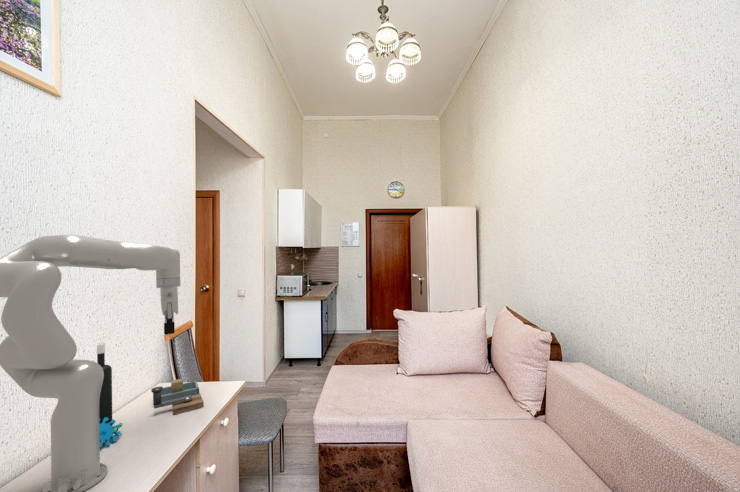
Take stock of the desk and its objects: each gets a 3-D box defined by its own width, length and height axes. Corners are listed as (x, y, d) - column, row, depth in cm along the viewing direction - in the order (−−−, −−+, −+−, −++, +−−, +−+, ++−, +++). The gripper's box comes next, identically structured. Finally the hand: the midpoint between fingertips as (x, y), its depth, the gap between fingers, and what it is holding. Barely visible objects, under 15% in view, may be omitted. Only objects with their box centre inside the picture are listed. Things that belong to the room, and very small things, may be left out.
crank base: (203, 407, 127) (203, 401, 127) (173, 415, 121) (173, 409, 121) (200, 398, 135) (200, 393, 135) (172, 405, 129) (172, 399, 130)
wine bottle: (106, 434, 109) (105, 344, 110) (86, 437, 108) (85, 346, 109) (115, 425, 115) (114, 340, 116) (96, 428, 113) (96, 341, 114)
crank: (192, 397, 131) (191, 379, 131) (192, 400, 127) (192, 382, 128) (151, 406, 124) (151, 387, 124) (151, 410, 121) (151, 391, 121)
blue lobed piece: (91, 451, 97) (80, 422, 100) (80, 463, 97) (70, 434, 101) (130, 436, 107) (118, 410, 110) (119, 448, 108) (108, 422, 111)
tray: (199, 396, 137) (198, 388, 137) (154, 407, 129) (154, 398, 129) (196, 388, 146) (196, 380, 146) (154, 397, 137) (154, 389, 137)
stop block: (182, 395, 137) (182, 381, 137) (171, 398, 134) (171, 383, 135) (182, 392, 140) (182, 378, 140) (171, 395, 138) (171, 380, 138)
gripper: (181, 283, 115) (182, 335, 114) (179, 281, 127) (179, 328, 127) (156, 285, 111) (157, 339, 110) (156, 282, 123) (156, 331, 122)
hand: (169, 333), depth 118 cm, fingers closed
